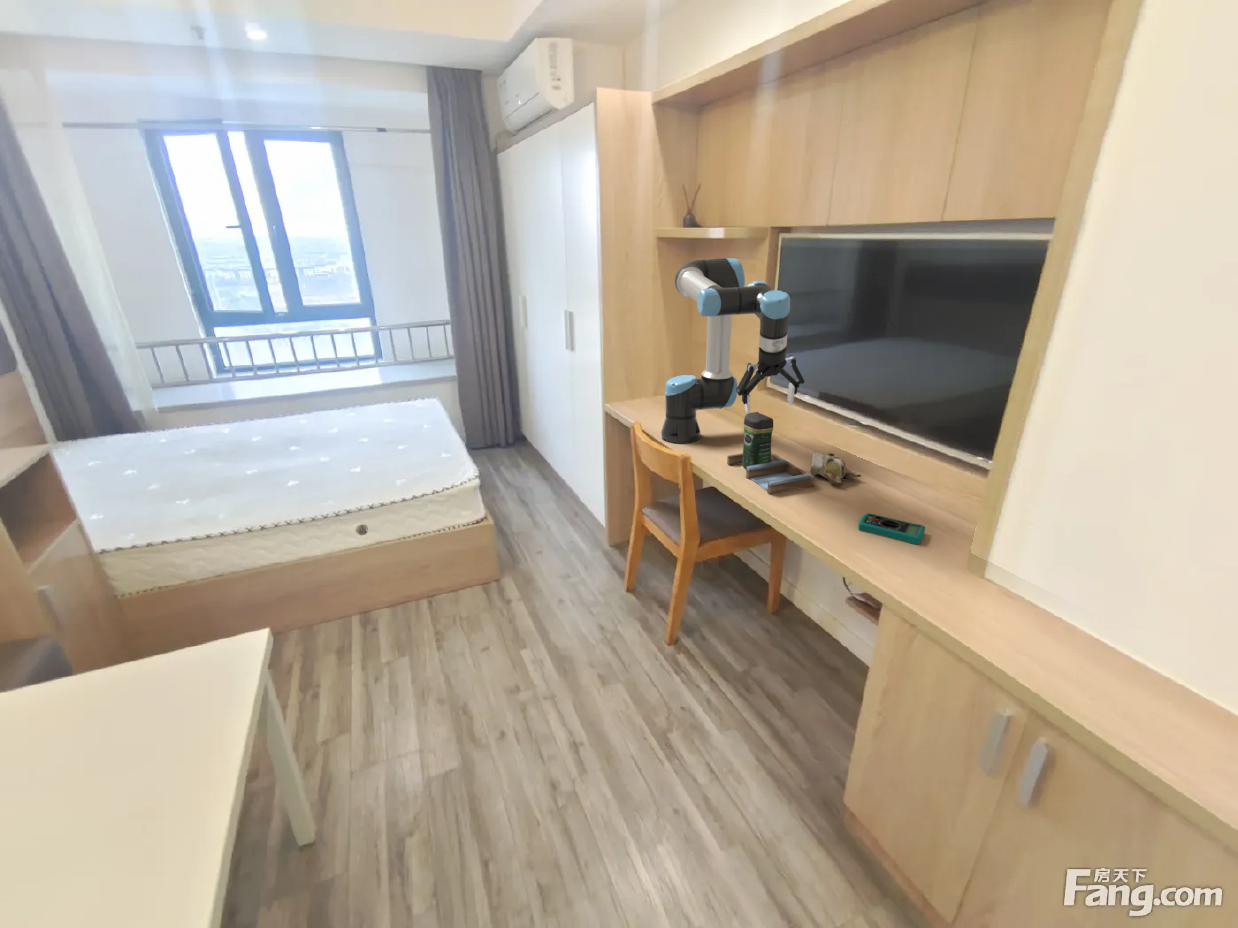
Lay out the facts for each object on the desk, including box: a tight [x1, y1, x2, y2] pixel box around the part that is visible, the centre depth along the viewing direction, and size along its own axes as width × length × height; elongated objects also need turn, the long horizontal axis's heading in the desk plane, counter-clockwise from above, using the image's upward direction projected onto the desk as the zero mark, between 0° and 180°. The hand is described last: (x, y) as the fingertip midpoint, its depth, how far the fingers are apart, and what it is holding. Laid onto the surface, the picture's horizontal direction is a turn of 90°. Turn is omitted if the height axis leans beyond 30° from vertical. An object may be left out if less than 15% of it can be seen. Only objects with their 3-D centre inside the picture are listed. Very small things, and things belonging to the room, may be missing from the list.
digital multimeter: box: [858, 512, 926, 546], centre depth 142 cm, size 7×15×3 cm, turn 53°
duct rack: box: [726, 451, 815, 495], centre depth 178 cm, size 26×15×4 cm, turn 18°
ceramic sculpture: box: [810, 450, 862, 486], centre depth 173 cm, size 11×9×15 cm
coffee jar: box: [741, 411, 774, 469], centre depth 181 cm, size 10×8×19 cm
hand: (768, 407), depth 171 cm, fingers open, 13 cm apart
